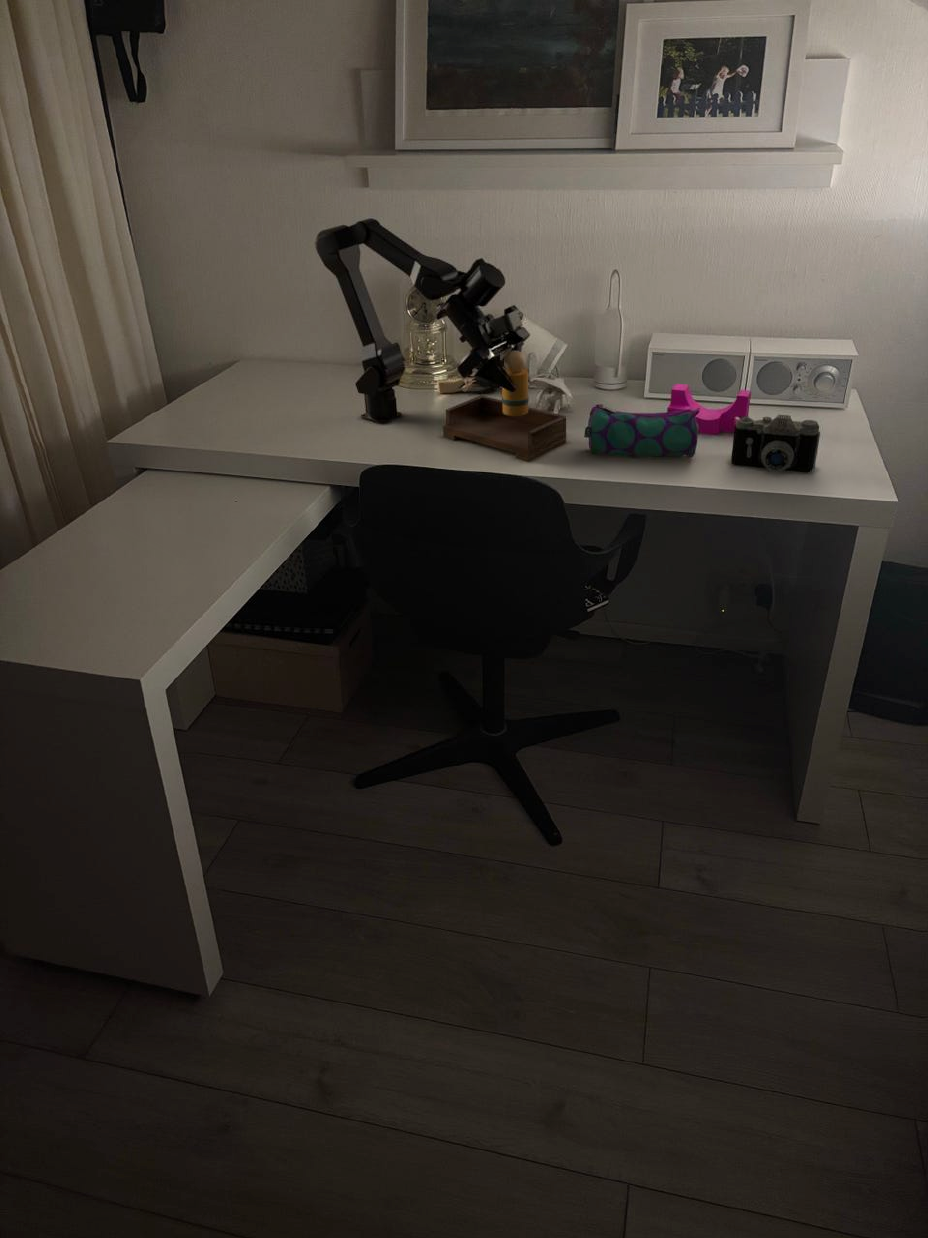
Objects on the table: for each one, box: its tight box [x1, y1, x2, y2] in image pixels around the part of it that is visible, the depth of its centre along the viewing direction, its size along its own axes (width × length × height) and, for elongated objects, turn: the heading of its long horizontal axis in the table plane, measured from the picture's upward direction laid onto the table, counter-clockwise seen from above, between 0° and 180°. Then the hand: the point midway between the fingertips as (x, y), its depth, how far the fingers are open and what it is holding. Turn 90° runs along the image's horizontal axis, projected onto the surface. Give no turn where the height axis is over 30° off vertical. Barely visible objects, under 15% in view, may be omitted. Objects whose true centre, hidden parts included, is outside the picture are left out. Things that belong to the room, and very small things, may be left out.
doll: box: [501, 351, 530, 416], centre depth 186 cm, size 5×5×12 cm
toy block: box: [666, 383, 752, 436], centre depth 194 cm, size 15×6×8 cm, turn 66°
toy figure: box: [436, 367, 502, 395], centre depth 220 cm, size 7×6×15 cm
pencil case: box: [583, 403, 700, 459], centre depth 183 cm, size 21×9×10 cm, turn 78°
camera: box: [730, 414, 821, 474], centre depth 175 cm, size 15×7×10 cm, turn 69°
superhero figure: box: [528, 377, 573, 414], centre depth 206 cm, size 10×9×20 cm
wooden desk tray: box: [442, 394, 568, 463], centre depth 193 cm, size 22×12×6 cm, turn 48°
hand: (521, 386), depth 186 cm, fingers closed on doll, 5 cm apart
